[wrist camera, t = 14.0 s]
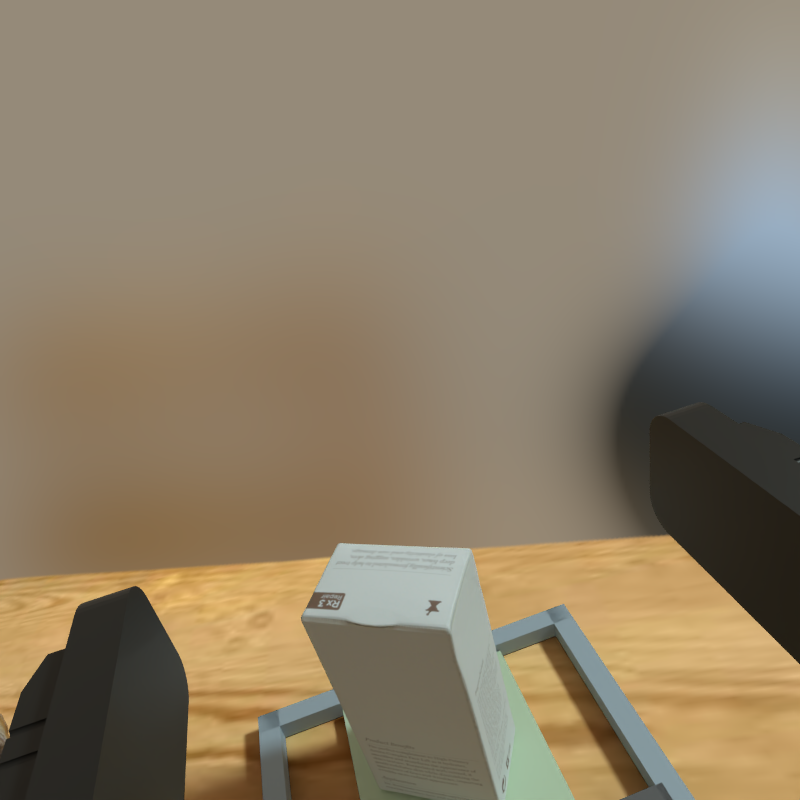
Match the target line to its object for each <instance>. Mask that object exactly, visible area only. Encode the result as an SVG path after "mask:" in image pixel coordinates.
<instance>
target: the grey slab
mask: <svg viewBox="0 0 800 800" xmlns="http://www.w3.org/2000/svg"><path fill="white" fill-rule="evenodd" d="M661 783H662V782H661ZM662 785H663V783H662V784H660V783H659V784H657V785H654V786H651V787H649V788H647V789H644V790H642V791H639V792H637V793H635V794H632V795H630V796H627V797H625V798H623V799H620V800H673V799H672V798H671V796H670V794H669V793H668V791H665V790H666V788H665V787H664V785H663V786H662ZM660 787H662V788H660ZM659 788H660V789H659ZM661 789H662V790H663V791H662V790H661ZM660 791H661V792H660ZM665 792H667V793H666V794H667V795H666V794H665ZM662 794H663V795H662ZM664 795H665V796H664ZM668 795H669V796H668ZM666 796H667V797H666ZM665 797H666V798H665Z"/></svg>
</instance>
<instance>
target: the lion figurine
mask: <svg viewBox="0 0 800 800" xmlns="http://www.w3.org/2000/svg"><path fill="white" fill-rule="evenodd" d="M8 738H10V736H9V735H8V728H7V724H6V722H5V720H4V718H3V716H2V715H1V714H0V757H1V754H2V750H3V747H4V744H5V741H6V739H8Z"/></svg>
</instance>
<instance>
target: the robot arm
mask: <svg viewBox="0 0 800 800" xmlns="http://www.w3.org/2000/svg"><path fill="white" fill-rule="evenodd" d="M650 498H651V502H652V506H653V509H654V512H655V514H656V516H657V518H658V520H659V522H660V523H661V525H662V526H663V528H664V529H665V530H666V531H667V532H668V534H669V535H670V536H672V537H673V538H674V539H675V540H676V541H677V542H678V543H679V544H680V545H681V546H682V547H683V548H684V549H685V550H686V551H687V552H688V553H689V554H690V555H691V556H692V557H693V558H694V559H695V560H696V561H697V562H698V563H699V564H700V565H701V566H702V567H703V568H704V569H705V570H706V571H707V572H708V573H709V574H710V575H711V576H712V577H713V578H714V579H715V580H716V581H717V582H718V583H719V584H720V585H721V586H722V587H723V588H724V589H725V590H726V591H727V592H728V593H729V594H730V595H731V596H732V597H733V598H734V599H735V600H736V601H737V602H738V603H739V604H740V605H741V606H742V607H743V608H744V609H745V610H746V611H747V612H748V613H749V614H750V615H751V616H752V617H753V618H754V619H755V620H756V621H757V622H758V623H759V624H760V625H761V626H762V627H763V628H764V629H765V630H766V631H767V632H768V633H769V634H770V635H771V636H772V637H773V638H774V639H775V640H776V641H777V642H778V643H779V644H780V645H781V646H782V647H783V648H784V649H785V650H786V651H787V652H788V653H789V654H790V655H791V656H792V657H793V658H794V659H795V660H796V661H797V662H798V663H799V664H800V445H799V444H797V443H796V442H794V441H792V440H791V439H789V438H788V437H786V436H784V435H783V434H780V433H777V432H774V431H771V430H768V429H765V428H762V427H758V426H755V425H752V424H749V423H746V422H743V423H740V424H738V423H737V422H735V421H734V420H732V419H730V418H729V417H727V416H726V415H724V414H723V413H721V412H720V411H718V410H717V409H715V408H714V407H712V406H710V405H708V404H706V403H696V404H693V405H690V406H687V407H684V408H681V409H677V410H675V411H671V412H668V413H665V414H662V415H659V416H656V417H655V418H654V419H653V420H652V422H651V425H650ZM188 705H189V694H188V684H187V679H186V674H185V670H184V667H183V664H182V661H181V659H180V656H179V654H178V652H177V651H176V649H175V647H174V645H173V643H172V642H171V640H170V638H169V636H168V634H167V633H166V631H165V629H164V627H163V625H162V624H161V622H160V620H159V618H158V616H157V615H156V613H155V611H154V609H153V607H152V606H151V604H150V602H149V600H148V598H147V597H146V595H145V593H144V592H143V591H142V590H141V589H140V588H139V587H137V586H134V587H131V588H128V589H125V590H122V591H118V592H115V593H112V594H109V595H106V596H103V597H100V598H97V599H94V600H91V601H88V602H85V603H82V604H80V605H79V606H78V608H77V610H76V612H75V615H74V619H73V623H72V626H71V630H70V634H69V637H68V641H67V645H66V649H63V650H60V651H57V652H54V653H51V654H48V655H47V656H46V658H45V659H44V660H43V662H42V663H41V665H40V666H39V668H38V669H37V670H36V672H35V673H34V675H33V676H32V678H31V679H30V681H29V682H28V683H27V685H26V686H25V688H24V689H23V691H22V692H21V695H20V698H19V701H18V704H17V707H16V710H15V713H14V716H13V719H12V723H11V726H10V729H9V733H10V738H8V739H6V741H5V744H4V747H3V750H2V754H1V757H0V800H184V791H185V769H186V748H187V726H188Z"/></svg>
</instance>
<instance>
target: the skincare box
mask: <svg viewBox="0 0 800 800" xmlns="http://www.w3.org/2000/svg"><path fill="white" fill-rule="evenodd" d="M301 621H302V623H303V625H304V627H305V629H306V631H307V634H308V636H309V638H310V640H311V642H312V644H313V646H314V648H315V650H316V653H317V655H318V657H319V659H320V661H321V663H322V665H323V667H324V670H325V672H326V674H327V676H328V678H329V680H330V683H331V685H332V687H333V689H334V691H335V693H336V696H337V698H338V700H339V702H340V704H341V706H342V709H343V711H344V713H345V715H346V717H347V719H348V722H349V724H350V726H351V728H352V730H353V732H354V734H355V737H356V739H357V741H358V743H359V745H360V747H361V749H362V751H363V754H364V756H365V758H366V760H367V762H368V765H369V767H370V769H371V771H372V773H373V776H374V778H375V780H376V782H377V784H378V786H379V788H380V789H382V790H387V791H392V792H398V793H403V794H408V795H413V796H418V797H423V798H428V799H433V800H505V797H506V790H507V784H508V778H509V771H510V764H511V757H512V751H513V744H514V736H515V725H514V721H513V717H512V713H511V709H510V706H509V701H508V697H507V692H506V688H505V684H504V681H503V676H502V672H501V668H500V664H499V660H498V656H497V651H496V647H495V643H494V639H493V635H492V631H491V627H490V623H489V618H488V614H487V610H486V606H485V601H484V598H483V594H482V590H481V587H480V584H479V578H478V573H477V569H476V565H475V561H474V557H473V553H472V551H471V549H469V548H441V547H415V546H389V545H364V544H344V543H339V544H338V545H337V547H336V549H335V551H334V553H333V555H332V557H331V559H330V561H329V563H328V565H327V567H326V569H325V571H324V573H323V575H322V577H321V579H320V581H319V583H318V585H317V587H316V589H315V591H314V593H313V595H312V597H311V599H310V601H309V603H308V605H307V607H306V609H305V611H304V613H303V614H302V617H301Z"/></svg>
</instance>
